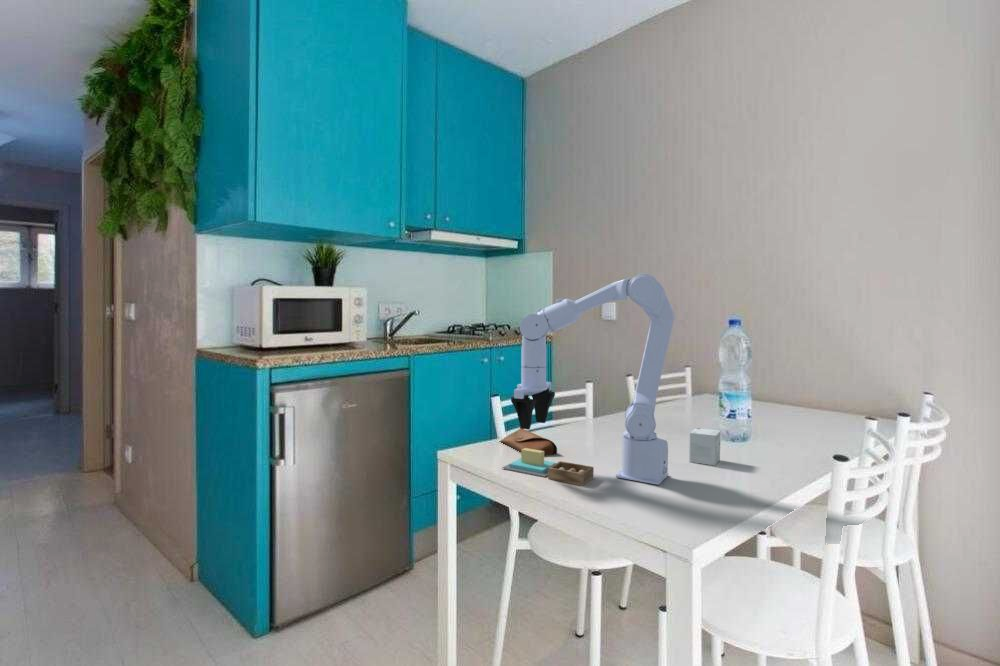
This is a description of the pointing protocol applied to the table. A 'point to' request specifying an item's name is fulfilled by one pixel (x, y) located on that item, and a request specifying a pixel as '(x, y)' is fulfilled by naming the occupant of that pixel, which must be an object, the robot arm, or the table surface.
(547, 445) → the sunglasses case
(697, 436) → the skincare box
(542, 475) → the mat
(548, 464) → the lid
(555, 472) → the box
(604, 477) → the table surface
